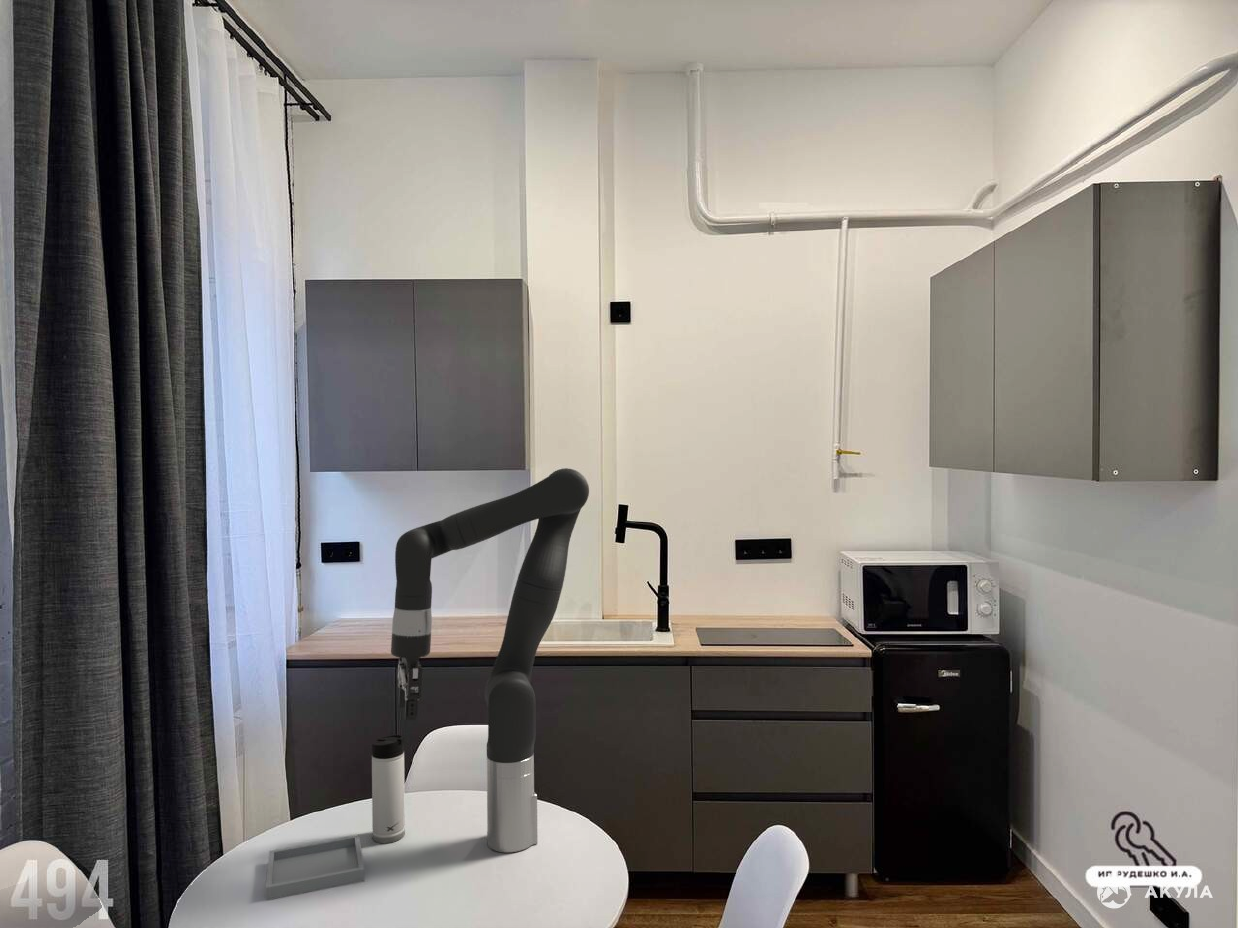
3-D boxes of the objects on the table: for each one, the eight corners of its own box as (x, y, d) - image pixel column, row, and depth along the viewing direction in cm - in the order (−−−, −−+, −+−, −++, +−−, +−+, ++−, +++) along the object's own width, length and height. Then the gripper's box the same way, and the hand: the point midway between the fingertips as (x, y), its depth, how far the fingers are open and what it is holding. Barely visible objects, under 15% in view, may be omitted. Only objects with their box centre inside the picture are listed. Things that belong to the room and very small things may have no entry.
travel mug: (397, 845, 154) (396, 743, 154) (366, 842, 155) (365, 741, 155) (411, 830, 160) (411, 732, 160) (382, 827, 161) (381, 730, 161)
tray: (358, 846, 153) (358, 835, 153) (364, 880, 140) (363, 868, 140) (269, 862, 147) (269, 850, 147) (266, 900, 134) (266, 887, 134)
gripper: (437, 637, 149) (433, 722, 149) (425, 622, 162) (420, 701, 162) (397, 638, 146) (392, 725, 146) (387, 624, 159) (383, 703, 159)
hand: (407, 712), depth 154 cm, fingers open, 8 cm apart
